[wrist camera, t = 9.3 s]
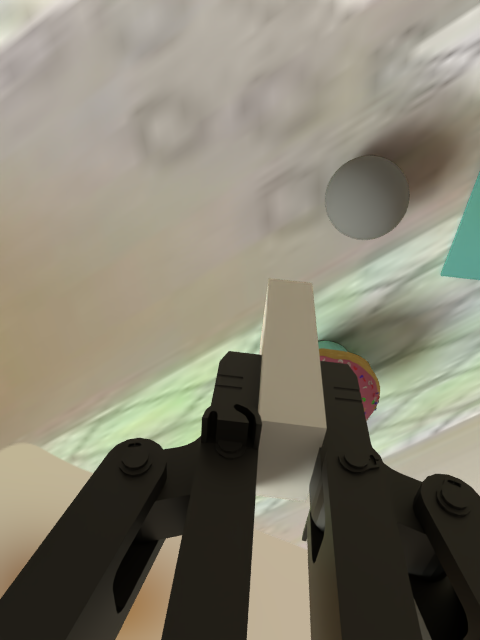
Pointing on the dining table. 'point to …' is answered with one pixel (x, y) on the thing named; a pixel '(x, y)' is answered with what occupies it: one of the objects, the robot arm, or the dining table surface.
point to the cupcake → (360, 368)
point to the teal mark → (466, 242)
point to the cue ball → (367, 197)
